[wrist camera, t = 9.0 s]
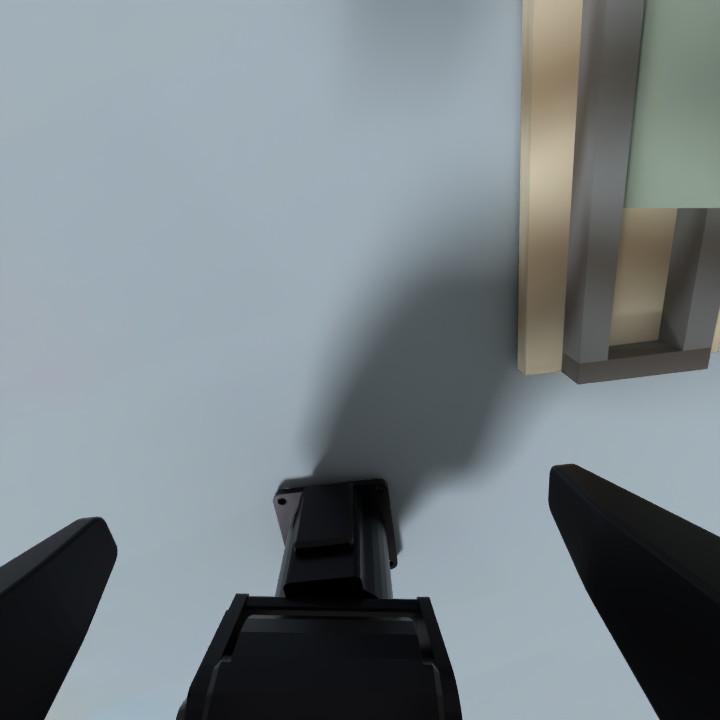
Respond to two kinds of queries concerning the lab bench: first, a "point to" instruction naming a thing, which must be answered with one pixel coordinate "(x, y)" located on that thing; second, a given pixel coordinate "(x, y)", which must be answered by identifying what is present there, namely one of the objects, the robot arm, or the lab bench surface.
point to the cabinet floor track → (601, 213)
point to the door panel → (676, 108)
